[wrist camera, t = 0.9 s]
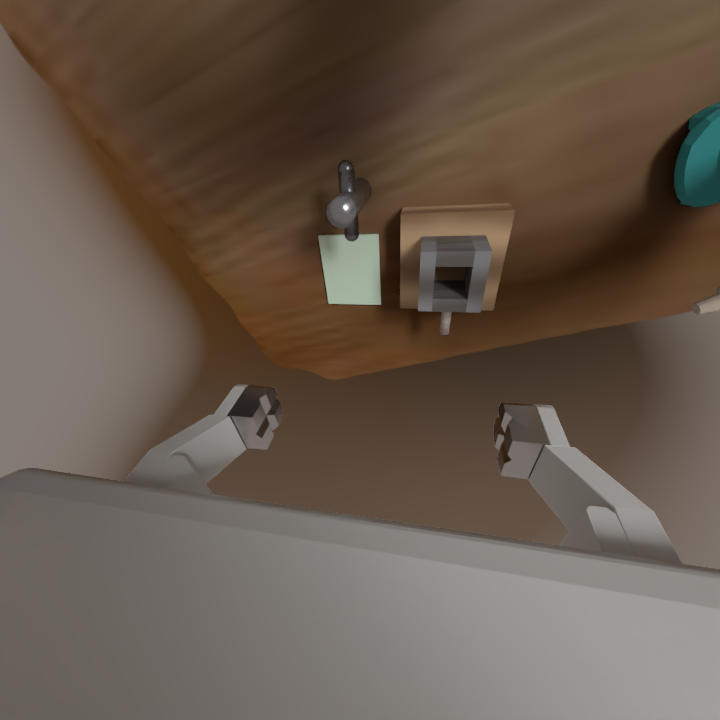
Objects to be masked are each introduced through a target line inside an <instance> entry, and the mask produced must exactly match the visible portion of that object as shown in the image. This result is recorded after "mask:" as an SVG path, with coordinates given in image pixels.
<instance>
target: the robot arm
mask: <svg viewBox="0 0 720 720" xmlns="http://www.w3.org/2000/svg"><path fill="white" fill-rule="evenodd" d="M277 395H278V394H277V391H276V389H275V388H273V387H263V386H253V385H240V384H238V385H236V386H234V387H233V389H232V390H231V391H230V393H229V394H228V395H227V397H226V398H225V400H224V401H223V402H222V404H221V405H220V406H219V408H218V409H217V411H216V412H215V413H214V415H208V416H207V417H205V418H203V419H202V420H200V421H198V422H197V423H195V424H193V425H191V426H190V427H188V428H186V429H185V430H183V431H181V432H180V433H178V434H176V435H175V436H173V437H171V438H169V439H168V440H166V441H164V442H163V443H161V444H159V445H158V446H156V447H154V448H153V449H151V450H150V451H148V453H147V454H146V455H145V456H144V457H143V459H142V460H141V461H140V462H139V463H138V464H137V466H136V467H135V468H134V469H133V470H132V472H131V473H130V474H129V475H128V476H127V478H126V479H125V480H124V481H118V480H111V479H104V478H97V477H91V476H84V475H77V474H71V473H64V472H57V471H51V470H44V469H38V468H26V469H21V470H18V471H15V472H13V473H11V474H8V475H6V476H3V477H1V478H0V720H720V569H716V568H709V567H701V566H695V565H688V564H682V562H681V560H680V558H679V556H678V555H677V553H676V551H675V549H674V547H673V546H672V544H671V542H670V540H669V538H668V536H667V535H666V533H665V531H664V529H663V527H662V525H661V524H660V522H659V520H658V518H657V516H656V515H655V513H654V512H653V511H652V510H651V509H649V508H648V507H647V506H646V505H644V504H643V503H642V502H641V501H640V500H639V499H637V498H636V497H635V496H634V495H633V494H631V493H630V492H629V491H628V490H626V489H625V488H624V487H623V486H622V485H620V484H619V483H618V482H617V481H615V480H614V479H613V478H612V477H611V476H609V475H608V474H607V473H606V472H605V471H603V470H602V469H601V468H600V467H598V466H597V465H596V464H595V463H594V462H592V461H591V460H590V459H589V458H587V457H586V456H585V455H584V454H583V453H581V452H580V451H579V450H577V449H576V448H574V447H570V446H569V444H568V441H567V439H566V436H565V434H564V431H563V429H562V427H561V424H560V422H559V419H558V417H557V415H556V412H555V410H554V408H553V407H552V406H551V405H536V404H534V405H533V404H519V403H501V404H500V405H499V409H498V413H499V417H498V418H497V419H496V420H495V424H494V433H493V436H494V444H495V447H496V448H497V449H498V450H499V453H498V457H497V460H498V465H499V470H500V475H501V476H507V477H515V478H522V479H529V482H530V483H531V485H532V486H533V487H534V488H535V489H536V491H537V492H538V493H539V494H540V495H541V497H542V498H543V499H544V501H545V502H546V503H547V504H548V505H549V507H550V508H551V509H552V510H553V512H554V513H555V514H556V515H557V516H558V518H559V519H560V520H561V521H562V523H563V524H564V525H565V526H566V528H567V529H568V530H569V531H570V532H569V533H568V534H567V536H566V537H565V538H564V539H563V541H562V542H561V544H560V545H552V544H545V543H539V542H532V541H525V540H518V539H511V538H505V537H498V536H491V535H484V534H478V533H471V532H464V531H457V530H450V529H444V528H436V527H430V526H423V525H417V524H410V523H403V522H396V521H390V520H383V519H375V518H369V517H362V516H356V515H349V514H342V513H334V512H328V511H321V510H314V509H308V508H301V507H294V506H287V505H280V504H274V503H267V502H260V501H253V500H246V499H240V498H233V497H226V496H219V495H213V494H212V492H211V491H210V490H209V489H208V487H207V486H206V484H207V483H208V482H209V481H210V480H211V479H212V478H214V477H215V476H216V475H217V474H218V473H219V472H221V471H222V470H223V469H224V468H225V467H226V466H228V465H229V464H230V463H231V462H232V461H233V460H234V459H236V458H237V457H238V456H239V455H240V454H241V453H242V452H244V451H245V450H246V448H253V449H265V450H267V448H268V446H269V444H270V442H271V440H272V438H273V436H274V434H273V431H272V430H274V429H275V428H276V427H278V426H279V424H280V421H281V419H282V413H283V412H282V405H281V403H280V402H279V401H278V400H277V399H276V397H277Z"/></svg>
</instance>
